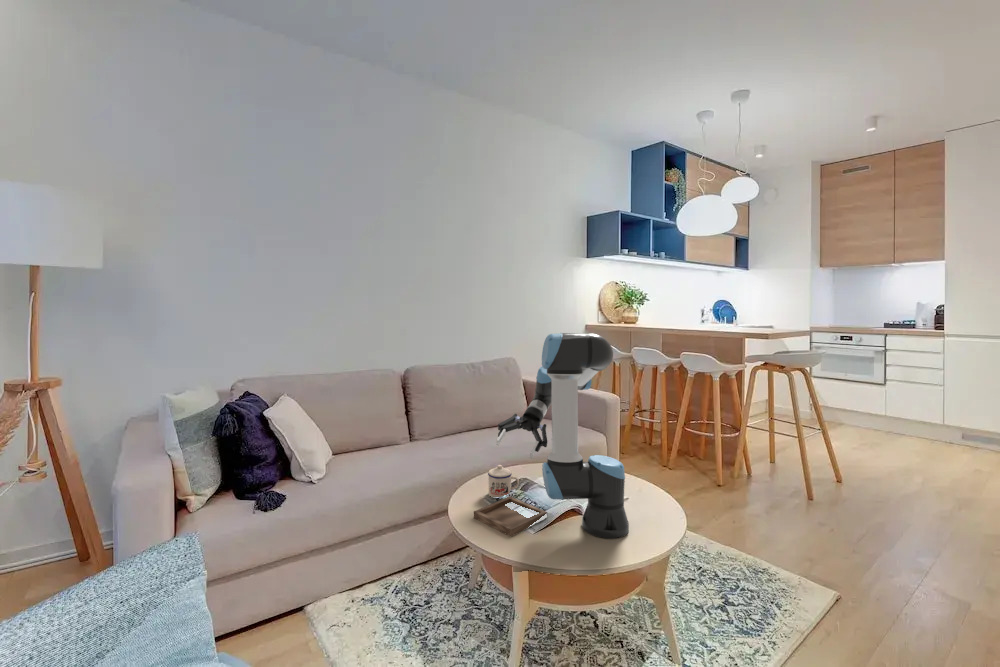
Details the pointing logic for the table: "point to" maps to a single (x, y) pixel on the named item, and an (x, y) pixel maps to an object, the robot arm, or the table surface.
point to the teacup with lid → (500, 481)
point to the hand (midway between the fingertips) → (514, 449)
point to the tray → (507, 516)
